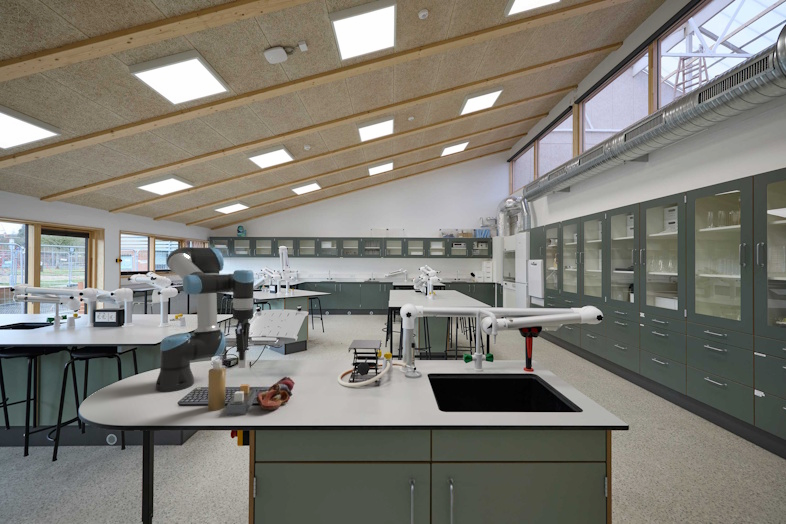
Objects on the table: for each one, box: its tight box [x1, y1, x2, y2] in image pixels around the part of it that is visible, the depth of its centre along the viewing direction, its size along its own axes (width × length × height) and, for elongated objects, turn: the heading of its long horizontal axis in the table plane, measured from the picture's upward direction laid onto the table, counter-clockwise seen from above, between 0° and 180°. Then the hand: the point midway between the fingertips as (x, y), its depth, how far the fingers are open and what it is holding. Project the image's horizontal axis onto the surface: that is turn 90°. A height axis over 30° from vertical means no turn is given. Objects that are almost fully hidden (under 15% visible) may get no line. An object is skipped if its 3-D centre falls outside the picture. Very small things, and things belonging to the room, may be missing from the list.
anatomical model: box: [256, 376, 296, 411], centre depth 141 cm, size 11×13×15 cm
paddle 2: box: [239, 383, 250, 394], centre depth 144 cm, size 2×3×3 cm, turn 99°
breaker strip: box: [225, 387, 257, 417], centre depth 143 cm, size 22×7×4 cm, turn 9°
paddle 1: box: [233, 390, 244, 402], centre depth 136 cm, size 2×3×3 cm, turn 99°
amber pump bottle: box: [207, 360, 227, 412], centre depth 138 cm, size 6×6×18 cm
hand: (242, 367), depth 139 cm, fingers closed
